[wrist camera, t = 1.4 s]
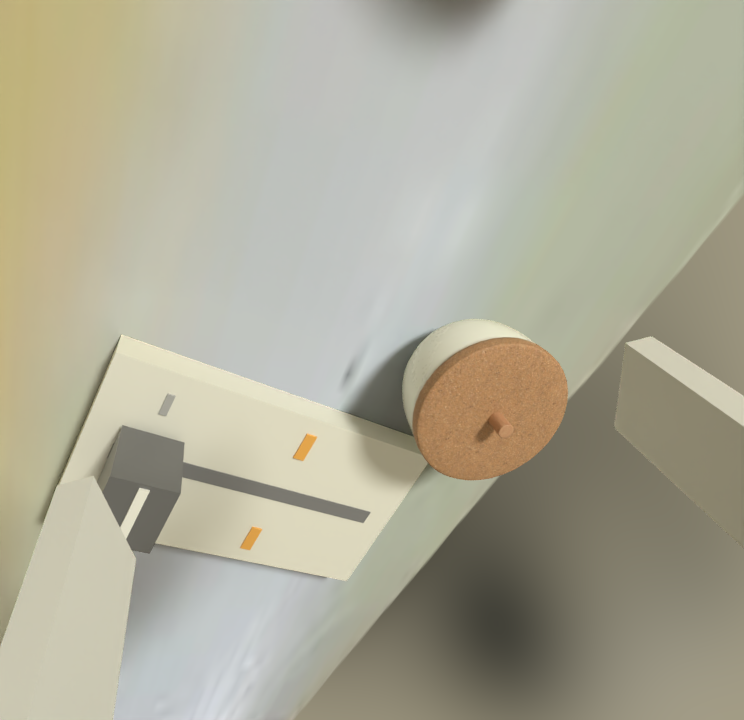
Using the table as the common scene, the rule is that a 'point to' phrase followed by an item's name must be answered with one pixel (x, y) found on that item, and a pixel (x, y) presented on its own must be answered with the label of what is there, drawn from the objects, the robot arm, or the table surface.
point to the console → (253, 462)
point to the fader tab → (142, 484)
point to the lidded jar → (482, 398)
